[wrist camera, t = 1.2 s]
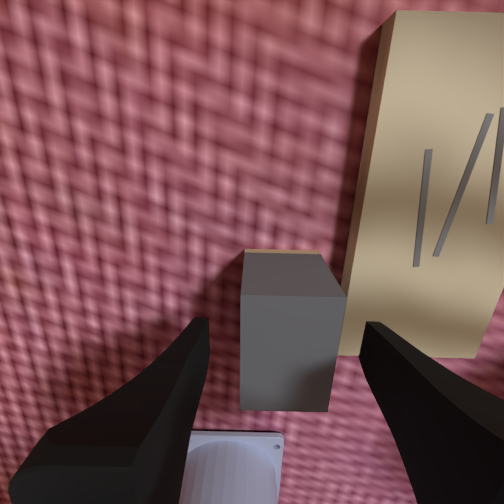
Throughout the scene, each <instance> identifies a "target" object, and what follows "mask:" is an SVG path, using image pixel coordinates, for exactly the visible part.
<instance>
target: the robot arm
mask: <svg viewBox="0 0 504 504" xmlns="http://www.w3.org/2000/svg"><path fill="white" fill-rule="evenodd" d="M209 356H210V343H209V320H208V318H206V317H195V318H194V319H193V320H192V321H191V322H190V323H189V324H188V326H187V327H186V328H185V329H184V330H183V332H182V333H181V334H180V335H179V336H178V337H177V338H176V339H175V341H174V342H173V343H172V344H171V345H170V346H169V347H168V348H167V349H166V350H165V351H164V352H163V353H162V354H161V355H160V356H159V357H158V358H157V359H156V360H155V361H154V362H152V363H151V364H150V365H149V366H148V367H147V368H146V369H145V370H143V371H142V372H141V373H140V374H138V375H137V376H136V377H135V378H133V379H132V380H131V381H129V382H128V383H126V384H125V385H124V386H122V387H121V388H119V389H118V390H116V391H115V392H114V393H112V394H111V395H109V396H107V397H106V398H104V399H103V400H101V401H99V402H98V403H96V404H94V405H93V406H91V407H89V408H88V409H86V410H84V411H82V412H81V413H79V414H77V415H75V416H73V417H71V418H69V419H67V420H65V421H63V422H61V423H59V424H58V425H56V426H54V427H52V428H49V429H48V430H47V432H46V433H45V434H44V435H43V437H42V438H41V439H40V440H39V442H38V443H37V444H36V446H35V447H34V448H33V450H32V451H31V453H30V454H29V455H28V457H27V458H26V460H25V461H24V462H23V464H22V465H21V466H20V468H19V469H18V471H17V472H16V473H15V475H14V476H13V478H12V479H11V480H10V483H9V489H8V490H9V495H10V498H11V501H12V503H13V504H278V498H279V487H280V477H281V466H282V456H283V446H284V438H283V435H282V434H280V433H270V432H225V431H192V427H193V423H194V419H195V416H196V412H197V408H198V405H199V401H200V397H201V394H202V390H203V386H204V383H205V379H206V375H207V369H208V363H209ZM359 360H360V363H361V366H362V369H363V372H364V375H365V378H366V380H367V382H368V384H369V386H370V388H371V391H372V393H373V395H374V397H375V399H376V401H377V403H378V405H379V407H380V409H381V411H382V413H383V415H384V417H385V419H386V422H387V424H388V426H389V428H390V430H391V432H392V435H393V437H394V439H395V442H396V444H397V447H398V450H399V452H400V455H401V458H402V460H403V463H404V466H405V468H406V471H407V474H408V477H409V480H410V483H411V485H412V488H413V491H414V494H415V497H416V500H417V503H418V504H504V400H502V399H500V398H498V397H496V396H494V395H492V394H491V393H489V392H487V391H485V390H483V389H481V388H479V387H477V386H475V385H474V384H472V383H470V382H468V381H467V380H465V379H463V378H462V377H460V376H458V375H456V374H455V373H453V372H451V371H450V370H448V369H447V368H445V367H444V366H442V365H441V364H439V363H437V362H436V361H434V360H433V359H431V358H430V357H428V356H427V355H426V354H424V353H423V352H421V351H420V350H418V349H417V348H416V347H414V346H413V345H412V344H410V343H409V342H407V341H406V340H405V339H403V338H402V337H401V336H399V335H398V334H397V333H395V332H394V331H392V330H391V329H390V328H388V327H387V326H385V325H384V324H382V323H381V322H375V321H366V324H365V329H364V334H363V338H362V343H361V348H360V353H359Z"/></svg>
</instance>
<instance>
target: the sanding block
mask: <svg viewBox="0 0 504 504" xmlns="http://www.w3.org/2000/svg"><path fill="white" fill-rule="evenodd" d="M346 300H347V297H346V295H345V293H344V292H343V290H342V288H341V287H340V285H339V284H338V282H337V280H336V279H335V277H334V275H333V274H332V272H331V271H330V269H329V267H328V266H327V264H326V262H325V261H324V259H323V257H322V256H321V254H320V253H319V251H312V250H269V249H245V253H244V264H243V274H242V285H241V302H240V410H257V411H299V412H328V406H329V400H330V394H331V388H332V382H333V376H334V371H335V365H336V359H337V353H338V347H339V341H340V335H341V330H342V324H343V318H344V312H345V306H346Z"/></svg>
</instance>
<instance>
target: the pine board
mask: <svg viewBox="0 0 504 504" xmlns="http://www.w3.org/2000/svg"><path fill="white" fill-rule="evenodd" d="M503 287H504V13H489V12H448V11H408V10H396V11H395V12H394V13H393V14H392V15H391V16H390V17H389V18H388V19H387V20H386V21H385V22H384V23H383V24H382V29H381V36H380V42H379V48H378V55H377V61H376V67H375V73H374V80H373V86H372V92H371V99H370V105H369V111H368V117H367V124H366V130H365V136H364V143H363V149H362V155H361V161H360V168H359V174H358V180H357V187H356V193H355V199H354V206H353V212H352V218H351V224H350V231H349V237H348V243H347V250H346V256H345V262H344V268H343V275H342V281H341V288H342V290H343V292H344V293H345V295H346V297H347V300H346V306H345V312H344V318H343V324H342V330H341V335H340V341H339V347H338V353H337V355H351V356H359V353H360V348H361V343H362V338H363V334H364V329H365V324H366V321H375V322H381V323H382V324H384V325H385V326H387V327H388V328H390V329H391V330H392V331H394V332H395V333H397V334H398V335H399V336H401V337H402V338H403V339H405V340H406V341H407V342H409V343H410V344H412V345H413V346H414V347H416V348H417V349H418V350H420V351H421V352H423V353H424V354H426V355H427V356H428V357H439V358H475V356H476V354H477V351H478V349H479V346H480V344H481V342H482V339H483V337H484V334H485V332H486V329H487V327H488V324H489V322H490V319H491V317H492V314H493V312H494V309H495V307H496V304H497V302H498V300H499V297H500V295H501V292H502V290H503Z"/></svg>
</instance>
